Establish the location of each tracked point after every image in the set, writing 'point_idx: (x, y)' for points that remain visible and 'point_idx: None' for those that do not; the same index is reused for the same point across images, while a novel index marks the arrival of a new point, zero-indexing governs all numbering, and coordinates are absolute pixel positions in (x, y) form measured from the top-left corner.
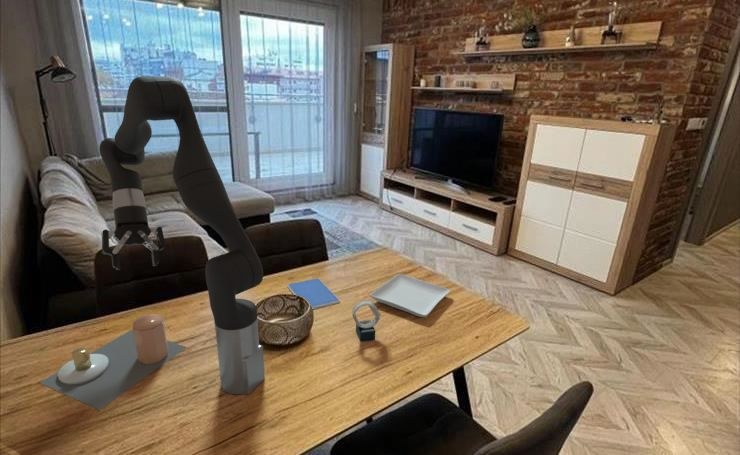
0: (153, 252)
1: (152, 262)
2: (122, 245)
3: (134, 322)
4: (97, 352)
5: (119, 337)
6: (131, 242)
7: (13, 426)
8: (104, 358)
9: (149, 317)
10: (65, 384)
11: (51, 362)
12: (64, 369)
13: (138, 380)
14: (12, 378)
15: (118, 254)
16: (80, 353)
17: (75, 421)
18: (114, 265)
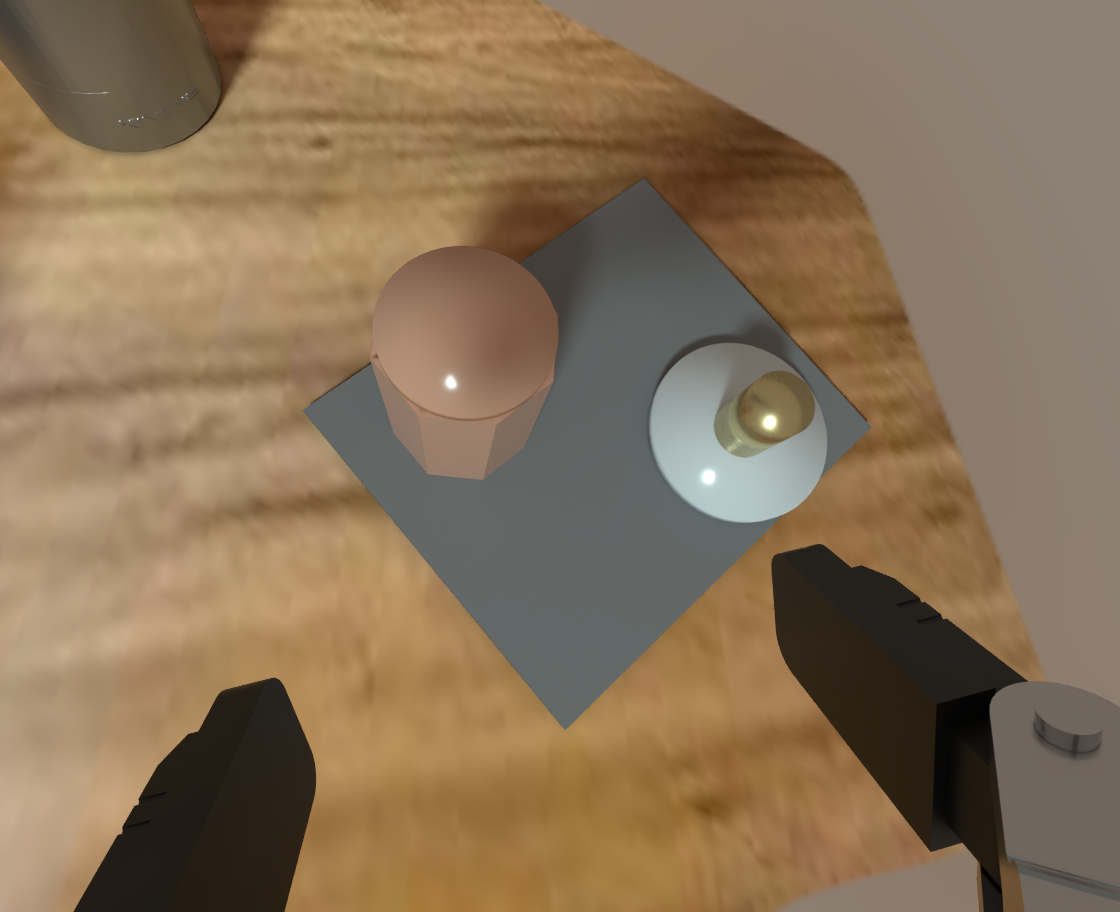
0: (171, 888)
1: (302, 831)
2: (1036, 885)
3: (550, 348)
4: (707, 554)
5: (625, 658)
6: None
7: (867, 249)
8: (670, 454)
9: (458, 368)
10: None
11: None
12: (809, 445)
13: (526, 266)
14: (969, 520)
15: (940, 699)
16: (778, 385)
17: (705, 181)
18: (876, 577)
